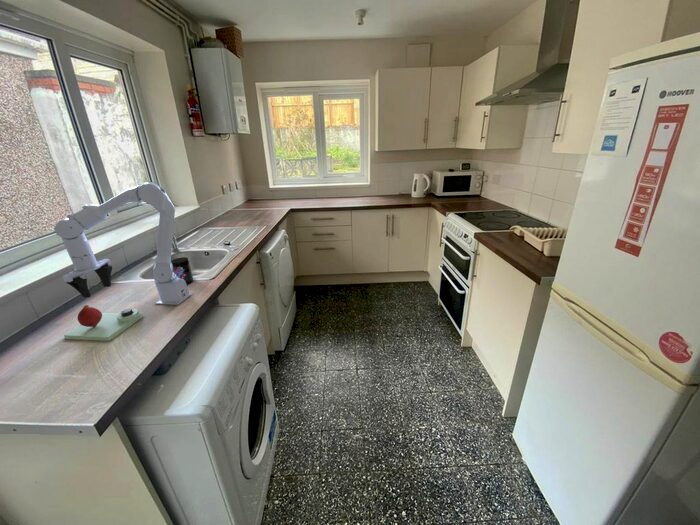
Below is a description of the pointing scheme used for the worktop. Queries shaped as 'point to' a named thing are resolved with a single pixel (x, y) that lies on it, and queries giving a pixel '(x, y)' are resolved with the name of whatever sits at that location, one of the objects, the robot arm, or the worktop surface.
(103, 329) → the scale
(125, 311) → the tare button
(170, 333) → the worktop surface
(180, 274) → the supplement container
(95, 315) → the onion
